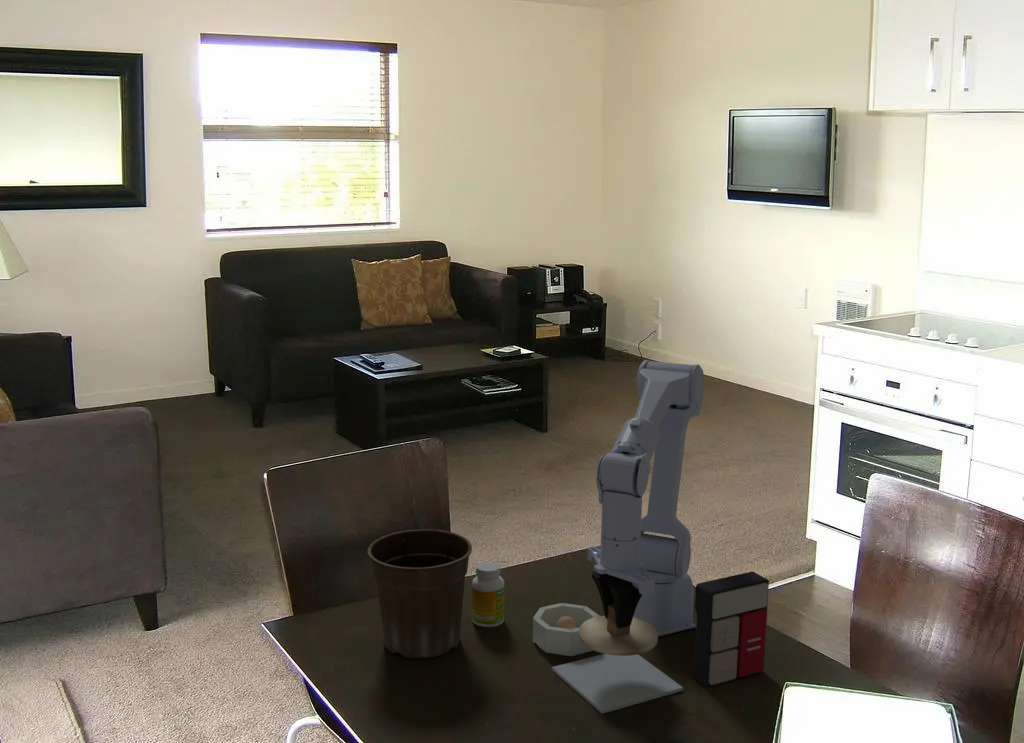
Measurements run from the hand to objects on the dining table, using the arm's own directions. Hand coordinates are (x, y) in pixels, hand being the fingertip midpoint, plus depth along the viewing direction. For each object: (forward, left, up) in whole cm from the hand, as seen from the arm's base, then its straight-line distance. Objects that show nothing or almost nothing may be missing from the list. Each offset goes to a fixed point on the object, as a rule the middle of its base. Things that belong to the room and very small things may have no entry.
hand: (618, 622), depth 153 cm
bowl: (0, -15, -9) cm, 17 cm away
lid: (0, 0, -2) cm, 2 cm away
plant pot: (+21, -25, -10) cm, 34 cm away
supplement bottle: (+8, -27, -10) cm, 29 cm away
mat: (0, 0, -9) cm, 9 cm away
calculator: (-16, +6, -10) cm, 20 cm away
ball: (0, -15, -7) cm, 16 cm away
